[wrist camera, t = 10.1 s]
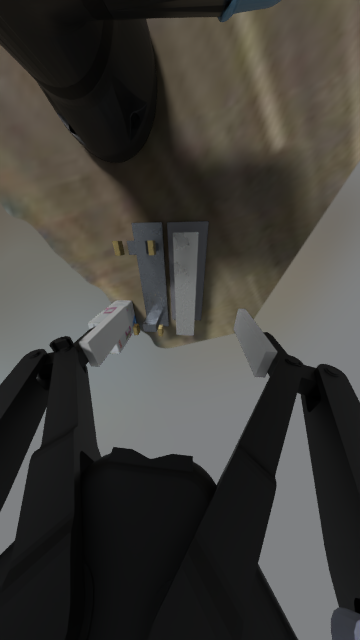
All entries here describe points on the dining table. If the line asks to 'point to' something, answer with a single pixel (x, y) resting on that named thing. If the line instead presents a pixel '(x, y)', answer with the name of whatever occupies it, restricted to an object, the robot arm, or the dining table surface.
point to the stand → (150, 273)
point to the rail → (185, 280)
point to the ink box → (128, 332)
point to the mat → (201, 258)
